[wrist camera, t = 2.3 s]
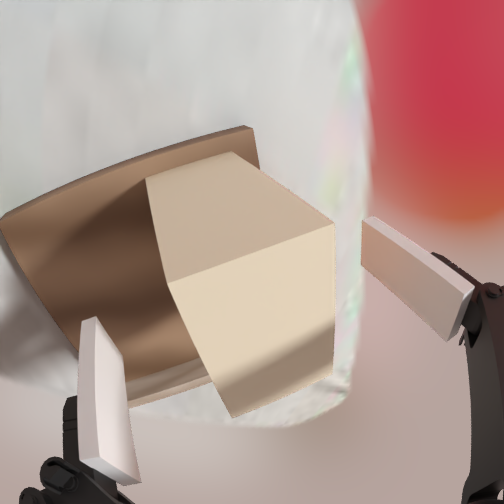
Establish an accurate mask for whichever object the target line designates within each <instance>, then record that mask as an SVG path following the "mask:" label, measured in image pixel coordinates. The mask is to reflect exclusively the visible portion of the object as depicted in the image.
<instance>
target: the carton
mask: <svg viewBox="0 0 504 504" xmlns="http://www.w3.org/2000/svg"><path fill="white" fill-rule="evenodd" d="M145 180H146V186H147V192H148V197H149V203H150V208H151V213H152V218H153V223H154V228H155V233H156V238H157V242H158V247H159V251H160V256H161V260H162V265H163V269H164V273H165V277H166V281H167V285H168V287H169V289H170V292H171V294H172V296H173V299H174V301H175V303H176V306H177V308H178V310H179V312H180V315H181V317H182V319H183V321H184V323H185V326H186V328H187V330H188V332H189V334H190V336H191V339H192V341H193V343H194V345H195V347H196V349H197V351H198V353H199V355H200V357H201V359H202V361H203V363H204V366H205V368H206V370H207V372H208V374H209V375H210V377H211V379H212V381H213V383H214V385H215V387H216V389H217V391H218V393H219V395H220V397H221V399H222V401H223V402H224V404H225V406H226V408H227V410H228V412H229V414H230V415H231V417H232V418H234V417H237V416H240V415H242V414H245V413H247V412H250V411H252V410H255V409H257V408H260V407H262V406H265V405H267V404H269V403H272V402H274V401H276V400H279V399H281V398H283V397H285V396H288V395H290V394H292V393H294V392H296V391H299V390H301V389H303V388H305V387H307V386H309V385H311V384H313V383H315V382H317V381H319V380H321V379H323V378H325V377H327V376H329V375H331V374H332V371H333V354H334V333H335V296H336V247H335V223H334V222H333V221H331V220H330V219H329V218H327V217H326V216H325V215H323V214H322V213H321V212H319V211H318V210H316V209H315V208H314V207H312V206H311V205H310V204H308V203H307V202H305V201H304V200H303V199H301V198H300V197H298V196H297V195H295V194H294V193H293V192H291V191H290V190H288V189H287V188H285V187H284V186H283V185H281V184H280V183H278V182H277V181H275V180H274V179H272V178H271V177H269V176H268V175H267V174H265V173H264V172H262V171H261V170H259V169H258V168H256V167H255V166H253V165H252V164H250V163H249V162H247V161H246V160H244V159H242V158H241V157H239V156H238V155H236V154H235V153H233V152H232V151H230V152H227V153H223V154H219V155H216V156H212V157H209V158H206V159H202V160H199V161H196V162H192V163H189V164H186V165H183V166H180V167H176V168H173V169H170V170H167V171H164V172H161V173H158V174H155V175H152V176H149V177H147V178H145Z"/></svg>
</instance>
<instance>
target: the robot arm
mask: <svg viewBox="0 0 504 504" xmlns="http://www.w3.org/2000/svg"><path fill="white" fill-rule="evenodd" d="M361 265H362V266H363V267H364V268H365V269H366V270H367V271H369V272H370V273H371V274H372V275H373V276H374V277H376V278H377V279H378V280H379V281H380V282H381V283H383V284H384V285H385V286H386V287H387V288H388V289H389V290H390V291H391V292H393V293H394V294H395V295H396V296H397V297H398V298H399V299H400V300H402V301H403V302H404V303H405V304H406V305H407V306H408V307H409V308H410V309H412V310H413V311H414V312H415V313H416V314H417V315H418V316H419V317H420V318H421V319H423V320H424V321H425V322H426V323H427V324H428V325H429V326H430V327H431V328H432V329H433V330H434V331H435V332H436V333H437V334H439V336H441V337H442V338H443V339H444V340H445V341H446V342H447V341H449V340H450V339H451V338H452V337H454V336H455V335H456V334H457V333H458V330H459V328H460V326H461V324H462V325H463V326H464V327H465V329H464V331H463V334H462V336H461V338H460V341H459V345H461V344H462V342H463V340H465V343H464V345H465V347H466V354H467V363H468V372H469V384H470V397H471V424H472V425H471V427H472V428H471V430H472V431H471V433H472V435H471V466H470V473H469V476H468V478H467V480H466V482H465V485H464V488H463V493H462V501H461V504H504V491H503V500H497V497H498V494H499V492H500V491H501V490H502V489H504V286H501V287H500V286H499V285H497V284H495V283H490V282H489V283H484V284H481V283H480V282H478V281H477V280H476V279H474V278H473V277H472V276H470V275H469V274H468V273H466V272H465V271H464V270H462V269H461V268H458V266H457V265H455V264H454V263H451V261H450V260H448V259H447V258H445V257H444V256H442V255H439V254H437V253H434V252H432V253H429V252H427V251H426V250H425V249H423V248H422V247H420V246H419V245H417V244H416V243H414V242H413V241H411V240H410V239H408V238H407V237H405V236H404V235H402V234H401V233H399V232H398V231H396V230H395V229H393V228H392V227H390V226H388V225H387V224H385V223H384V222H382V221H381V220H379V219H378V218H376V217H374V216H372V217H369V218H367V219H364V220H362V247H361ZM63 422H64V423H63V432H64V433H63V459H64V460H63V459H62V458H60V457H51V458H49V459H47V460H46V461H45V462H44V463H43V465H42V467H41V470H40V480H41V483H42V485H43V486H44V487H45V489H43V490H41V491H39V490H37V489H35V488H32V487H28V488H25V489H24V490H23V491H22V492H21V495H20V498H19V504H135V503H133V502H132V501H131V500H130V499H128V498H127V497H126V496H125V495H123V494H122V493H121V492H120V491H118V490H117V486H116V482H117V483H119V484H121V485H123V486H126V485H132V484H137V483H141V478H140V474H139V469H138V464H137V459H136V453H135V448H134V443H133V437H132V430H131V424H130V417H129V410H128V402H127V394H126V385H125V375H124V364H123V356H122V354H121V353H120V351H119V350H118V348H117V347H116V346H115V344H114V343H113V341H112V340H111V338H110V337H109V335H108V334H107V332H106V331H105V329H104V328H103V326H102V324H101V323H100V321H99V320H98V318H97V316H95V317H92V318H89V319H86V320H84V321H82V324H81V334H80V347H79V362H78V389H77V395H76V396H73V397H69V398H67V400H66V403H65V405H64V408H63Z"/></svg>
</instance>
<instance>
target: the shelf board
mask: <svg viewBox="0 0 504 504" xmlns="http://www.w3.org/2000/svg"><path fill="white" fill-rule="evenodd" d="M230 151H232V152H233V153H235V154H236V155H238V156H239V157H241V158H242V159H244V160H246V161H247V162H249V163H250V164H252V165H253V166H255V167H256V168H258V169H259V170H260V167H259V161H258V155H257V149H256V143H255V137H254V132H253V128H250V127H247V126H245V125H243V126H239V127H235V128H231V129H227V130H223V131H219V132H215V133H211V134H208V135H204V136H200V137H197V138H193V139H190V140H187V141H183V142H180V143H177V144H173V145H170V146H167V147H164V148H161V149H158V150H155V151H151V152H149V153H146V154H143V155H140V156H137V157H134V158H131V159H128V160H126V161H123V162H120V163H117V164H115V165H112V166H109V167H107V168H104V169H102V170H99V171H97V172H94V173H92V174H89V175H87V176H84V177H82V178H79V179H77V180H75V181H72V182H70V183H68V184H65V185H63V186H61V187H59V188H56V189H54V190H52V191H50V192H48V193H46V194H43V195H41V196H39V197H37V198H35V199H33V200H31V201H29V202H27V203H25V204H23V205H21V206H19V207H17V208H15V209H13V210H11V211H9V212H7V213H5V215H4V216H3V217H2V218H1V220H0V229H1V231H2V233H3V235H4V237H5V239H6V241H7V243H8V245H9V247H10V249H11V251H12V253H13V255H14V256H15V258H16V260H17V262H18V264H19V265H20V267H21V269H22V271H23V272H24V274H25V276H26V277H27V279H28V281H29V282H30V284H31V286H32V287H33V289H34V290H35V292H36V294H37V295H38V297H39V298H40V300H41V301H42V303H43V304H44V306H45V307H46V309H47V310H48V312H49V313H50V315H51V316H52V318H53V319H54V321H55V322H56V323H57V325H58V326H59V328H60V329H61V330H62V332H63V333H64V334H65V336H66V337H67V338H68V340H69V341H70V342H71V344H72V345H73V346H74V348H75V349H76V350H77V351H78V353H79V347H80V334H81V324H82V321H84V320H86V319H89V318H92V317H95V316H97V318H98V320H99V321H100V323H101V324H102V326H103V328H104V329H105V331H106V332H107V334H108V335H109V337H110V338H111V340H112V341H113V343H114V344H115V346H116V347H117V348H118V350H119V351H120V353H121V354H122V356H123V364H124V375H125V385H126V394H127V402H128V409H129V408H133V407H136V406H140V405H143V404H147V403H150V402H153V401H156V400H160V399H163V398H166V397H169V396H172V395H175V394H178V393H181V392H184V391H187V390H190V389H193V388H196V387H199V386H201V385H204V384H207V383H210V382H213V381H212V379H211V377H210V375H209V374H208V372H207V370H206V368H205V366H204V363H203V361H202V359H201V357H200V355H199V353H198V351H197V349H196V347H195V345H194V343H193V341H192V339H191V336H190V334H189V332H188V330H187V328H186V326H185V323H184V321H183V319H182V317H181V315H180V312H179V310H178V308H177V306H176V303H175V301H174V299H173V296H172V294H171V292H170V289H169V287H168V285H167V281H166V277H165V273H164V269H163V265H162V260H161V256H160V251H159V247H158V242H157V238H156V233H155V228H154V223H153V218H152V213H151V208H150V203H149V197H148V192H147V186H146V180H145V178H147V177H149V176H152V175H155V174H158V173H161V172H164V171H167V170H170V169H173V168H176V167H180V166H183V165H186V164H189V163H192V162H196V161H199V160H202V159H206V158H209V157H212V156H216V155H219V154H223V153H227V152H230Z"/></svg>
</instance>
